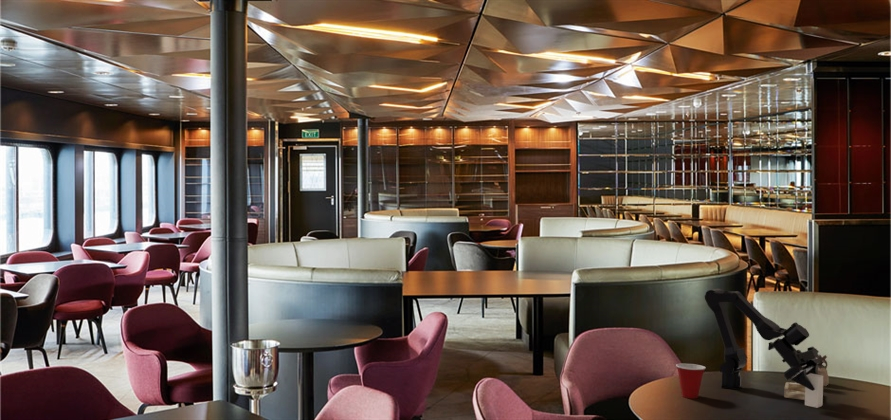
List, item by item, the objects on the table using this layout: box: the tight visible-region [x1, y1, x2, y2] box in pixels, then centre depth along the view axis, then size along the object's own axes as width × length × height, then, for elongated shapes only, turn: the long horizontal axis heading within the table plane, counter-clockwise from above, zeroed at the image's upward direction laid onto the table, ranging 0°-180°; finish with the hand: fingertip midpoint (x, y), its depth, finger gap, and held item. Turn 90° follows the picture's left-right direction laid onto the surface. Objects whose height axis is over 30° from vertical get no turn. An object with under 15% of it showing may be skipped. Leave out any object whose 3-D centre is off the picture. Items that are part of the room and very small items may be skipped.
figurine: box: [815, 353, 830, 387], centre depth 308 cm, size 7×7×12 cm
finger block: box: [804, 373, 824, 409], centre depth 279 cm, size 4×5×11 cm
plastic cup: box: [675, 363, 706, 399], centre depth 289 cm, size 11×11×12 cm
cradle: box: [783, 381, 805, 401], centre depth 296 cm, size 10×22×11 cm, turn 153°
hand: (818, 388), depth 278 cm, fingers open, 7 cm apart
